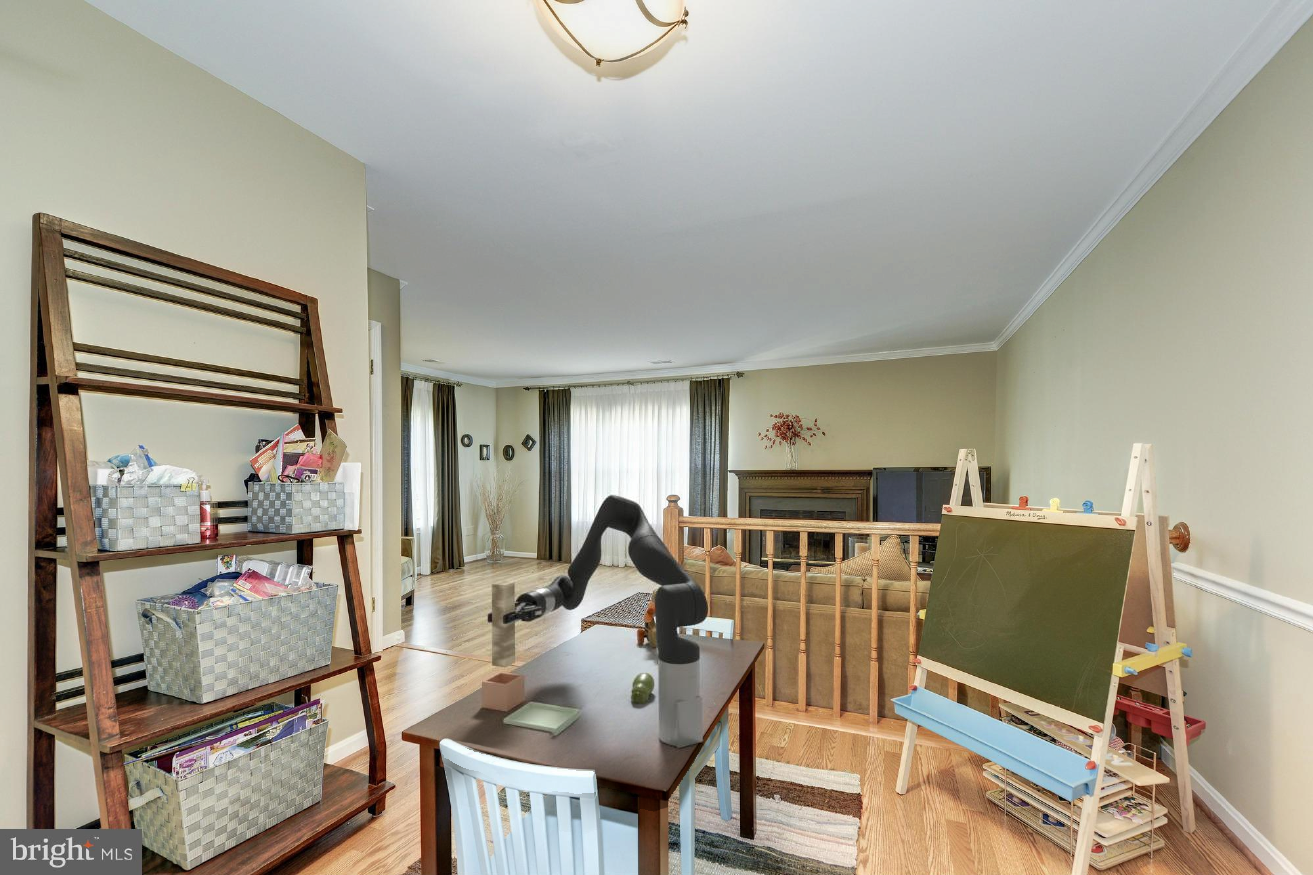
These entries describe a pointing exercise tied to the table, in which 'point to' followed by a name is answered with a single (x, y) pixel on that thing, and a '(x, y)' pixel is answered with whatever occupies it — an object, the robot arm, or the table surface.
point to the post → (503, 632)
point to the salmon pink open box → (503, 691)
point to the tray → (543, 717)
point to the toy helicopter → (648, 627)
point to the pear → (642, 688)
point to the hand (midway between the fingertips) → (496, 619)
